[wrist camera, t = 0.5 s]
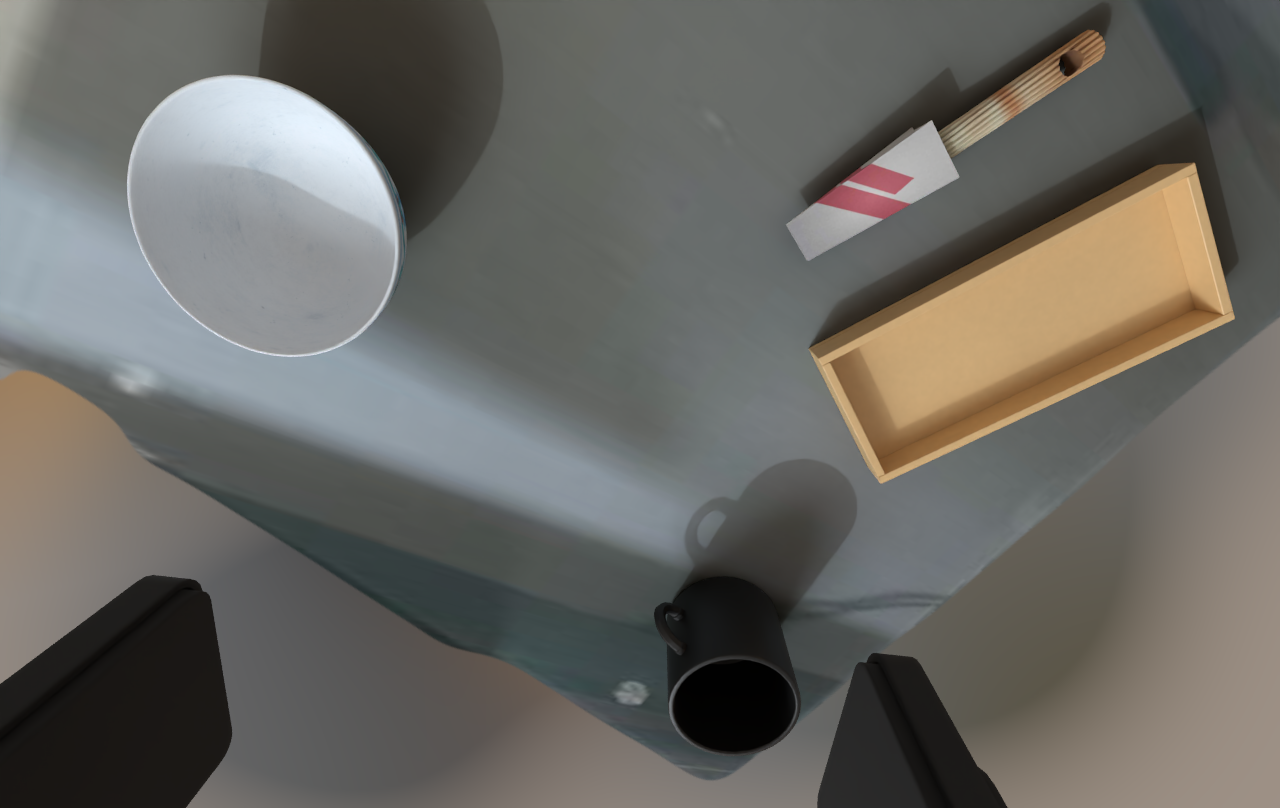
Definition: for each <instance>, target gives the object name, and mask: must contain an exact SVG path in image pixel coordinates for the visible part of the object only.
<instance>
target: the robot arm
mask: <svg viewBox="0 0 1280 808" xmlns="http://www.w3.org/2000/svg"><path fill="white" fill-rule="evenodd" d="M231 737H232V727H231V721H230V714H229V708H228V702H227V696H226V690H225V683H224V677H223V671H222V665H221V659H220V653H219V646H218V640H217V634H216V628H215V622H214V616H213V610H212V604H211V599H210V596H209V595H208V594H207V593H206V592H203V591H202V588H201V585H200V584H199V583H198V582H197V581H195V580H191V579H184V578H175V577H166V576H156V575H152V576H146V577H144V578H142V579H141V580H139V581H137V582H136V583H135V584H133V585H132V586H131V587H129V588H128V589H127V590H125V591H124V592H123V593H121V594H120V595H119V596H117V597H116V598H115V599H113V600H112V601H111V602H109V603H108V604H107V605H105V606H104V607H103V608H101V609H100V610H99V611H97V612H96V613H95V614H93V615H92V616H91V617H89V618H88V619H87V620H85V621H84V622H83V623H81V624H80V625H79V626H77V627H76V628H75V629H73V630H72V631H71V632H69V633H68V634H67V635H65V636H64V637H63V638H61V639H60V640H59V641H57V642H56V643H55V644H53V645H52V646H50V647H49V648H48V649H46V650H45V651H44V652H43V653H41V654H40V655H39V656H37V657H36V658H34V659H33V660H32V661H30V662H29V663H28V664H26V665H25V666H24V667H23V668H21V669H20V670H19V671H17V672H16V673H14V674H13V675H12V676H11V677H9V678H8V679H6V680H5V681H4V682H3V683H1V684H0V808H186V807H187V806H188V804H189V803H190V802H191V800H192V799H193V798H194V796H195V795H196V794H197V792H198V791H199V790H200V788H201V787H202V786H203V784H204V783H205V782H206V781H207V779H208V778H209V777H210V775H211V774H212V773H213V771H214V770H215V769H216V768H217V766H218V765H219V764H220V762H221V761H222V759H223V758H224V756H225V754H226V753H227V750H228V748H229V745H230V742H231ZM817 805H818V808H1007V806H1006V804H1005V803H1004V801H1003V799H1002V797H1001V795H1000V794H999V792H998V790H997V788H996V787H995V785H994V784H993V782H992V781H991V779H990V778H989V777H988V775H987V774H986V773H985V772H984V771H983V770H981V769H980V768H979V767H977V765H976V763H975V761H974V760H973V758H972V756H971V754H970V752H969V751H968V749H967V747H966V745H965V744H964V742H963V740H962V738H961V736H960V735H959V733H958V731H957V729H956V727H955V726H954V724H953V722H952V720H951V718H950V717H949V715H948V713H947V711H946V709H945V708H944V706H943V704H942V702H941V700H940V699H939V697H938V695H937V693H936V692H935V690H934V688H933V686H932V684H931V683H930V681H929V679H928V677H927V675H926V674H925V672H924V670H923V668H922V666H921V665H920V663H919V662H918V661H917V660H916V659H915V658H913V657H906V656H897V655H887V654H879V653H873V654H871V655H870V656H869V658H868V660H867V662H866V663H863V662H860V663H858V664H857V665H856V667H855V670H854V673H853V677H852V680H851V684H850V687H849V690H848V694H847V697H846V700H845V704H844V707H843V711H842V714H841V718H840V721H839V724H838V728H837V731H836V735H835V738H834V741H833V745H832V748H831V752H830V755H829V759H828V762H827V765H826V769H825V772H824V776H823V779H822V783H821V786H820V790H819V793H818V802H817Z"/></svg>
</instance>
